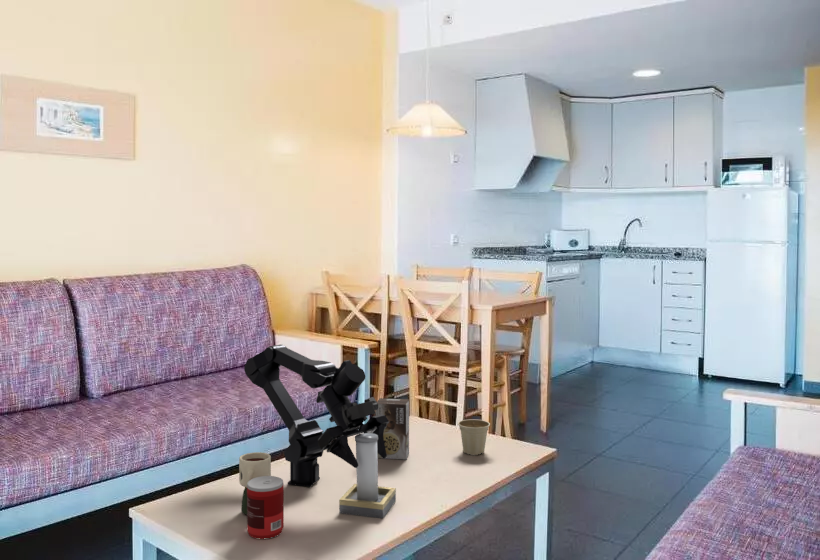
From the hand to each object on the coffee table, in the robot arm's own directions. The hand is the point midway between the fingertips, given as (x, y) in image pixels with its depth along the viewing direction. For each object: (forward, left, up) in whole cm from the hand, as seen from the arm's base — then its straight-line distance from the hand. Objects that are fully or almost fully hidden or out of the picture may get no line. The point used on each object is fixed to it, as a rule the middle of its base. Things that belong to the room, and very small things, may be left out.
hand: (371, 462), depth 164 cm
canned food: (-18, -19, -11) cm, 28 cm away
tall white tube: (-1, +1, -9) cm, 9 cm away
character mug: (-25, -10, -11) cm, 29 cm away
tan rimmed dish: (-1, 0, -11) cm, 11 cm away
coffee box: (-6, +38, -11) cm, 40 cm away
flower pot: (+16, +48, -11) cm, 52 cm away
